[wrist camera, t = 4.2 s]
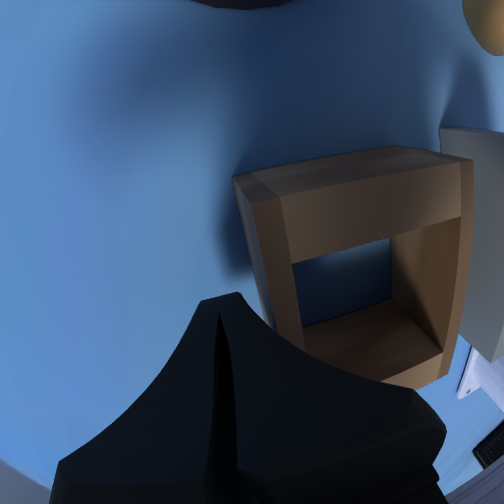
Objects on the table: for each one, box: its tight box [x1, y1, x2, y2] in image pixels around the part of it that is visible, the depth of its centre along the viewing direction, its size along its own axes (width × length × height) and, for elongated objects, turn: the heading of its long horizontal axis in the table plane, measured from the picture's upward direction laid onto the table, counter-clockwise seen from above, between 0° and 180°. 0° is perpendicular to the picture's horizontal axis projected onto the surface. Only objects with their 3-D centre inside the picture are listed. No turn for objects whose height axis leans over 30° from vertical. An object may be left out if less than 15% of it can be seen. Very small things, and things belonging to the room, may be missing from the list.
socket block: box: [232, 146, 474, 391], centre depth 10 cm, size 6×8×4 cm
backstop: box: [439, 127, 504, 364], centre depth 10 cm, size 2×9×4 cm, turn 12°
